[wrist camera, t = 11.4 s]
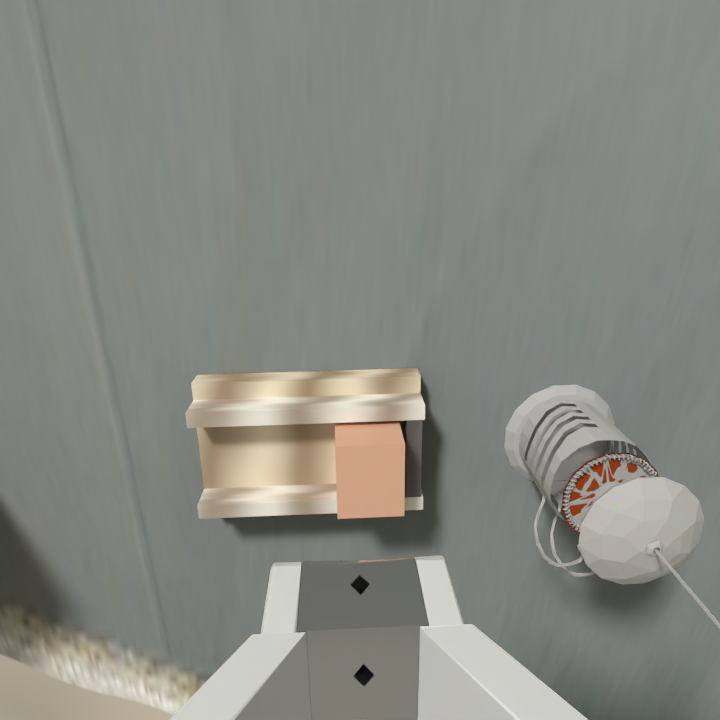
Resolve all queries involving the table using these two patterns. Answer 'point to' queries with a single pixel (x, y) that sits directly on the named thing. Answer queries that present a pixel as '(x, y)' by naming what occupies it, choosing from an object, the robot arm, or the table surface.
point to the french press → (602, 489)
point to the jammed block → (370, 469)
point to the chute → (294, 436)
